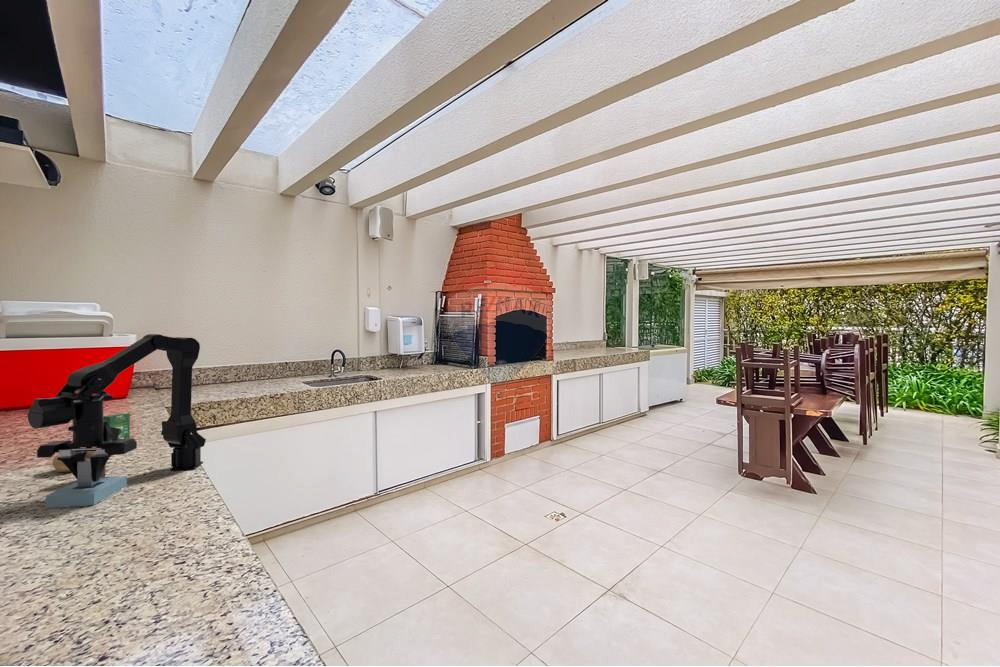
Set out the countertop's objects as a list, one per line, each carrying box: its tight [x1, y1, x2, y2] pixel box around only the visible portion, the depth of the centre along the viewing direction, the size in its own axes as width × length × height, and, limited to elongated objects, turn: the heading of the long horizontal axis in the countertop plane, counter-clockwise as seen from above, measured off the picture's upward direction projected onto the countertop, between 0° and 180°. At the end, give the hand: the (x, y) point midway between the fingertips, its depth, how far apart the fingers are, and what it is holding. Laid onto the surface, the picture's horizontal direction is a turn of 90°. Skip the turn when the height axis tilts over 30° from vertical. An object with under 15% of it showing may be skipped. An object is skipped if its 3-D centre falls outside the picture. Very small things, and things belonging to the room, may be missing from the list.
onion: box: [52, 452, 71, 473], centre depth 132 cm, size 8×8×7 cm
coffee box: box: [103, 412, 131, 443], centre depth 149 cm, size 8×3×13 cm, turn 178°
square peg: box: [76, 458, 100, 489], centre depth 111 cm, size 3×3×8 cm
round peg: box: [84, 451, 107, 477], centre depth 124 cm, size 5×5×8 cm
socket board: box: [45, 475, 128, 509], centre depth 112 cm, size 10×12×3 cm
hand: (88, 481), depth 112 cm, fingers closed on square peg, 3 cm apart
